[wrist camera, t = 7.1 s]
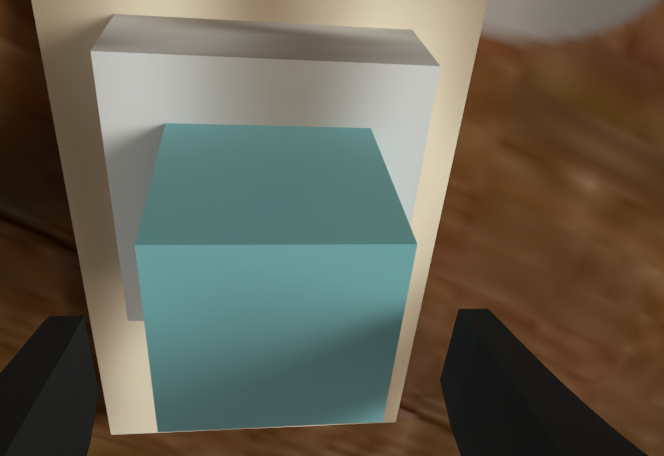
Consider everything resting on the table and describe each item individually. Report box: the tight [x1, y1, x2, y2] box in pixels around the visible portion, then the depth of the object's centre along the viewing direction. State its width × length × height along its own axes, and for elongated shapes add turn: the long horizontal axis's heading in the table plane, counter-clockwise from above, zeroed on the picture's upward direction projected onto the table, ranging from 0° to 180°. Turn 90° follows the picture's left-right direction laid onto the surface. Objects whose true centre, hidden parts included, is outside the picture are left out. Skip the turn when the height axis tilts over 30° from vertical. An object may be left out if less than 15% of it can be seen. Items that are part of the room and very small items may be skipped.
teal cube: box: [135, 123, 417, 432], centre depth 14 cm, size 5×5×5 cm
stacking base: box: [31, 0, 487, 435], centre depth 20 cm, size 12×18×4 cm, turn 175°
